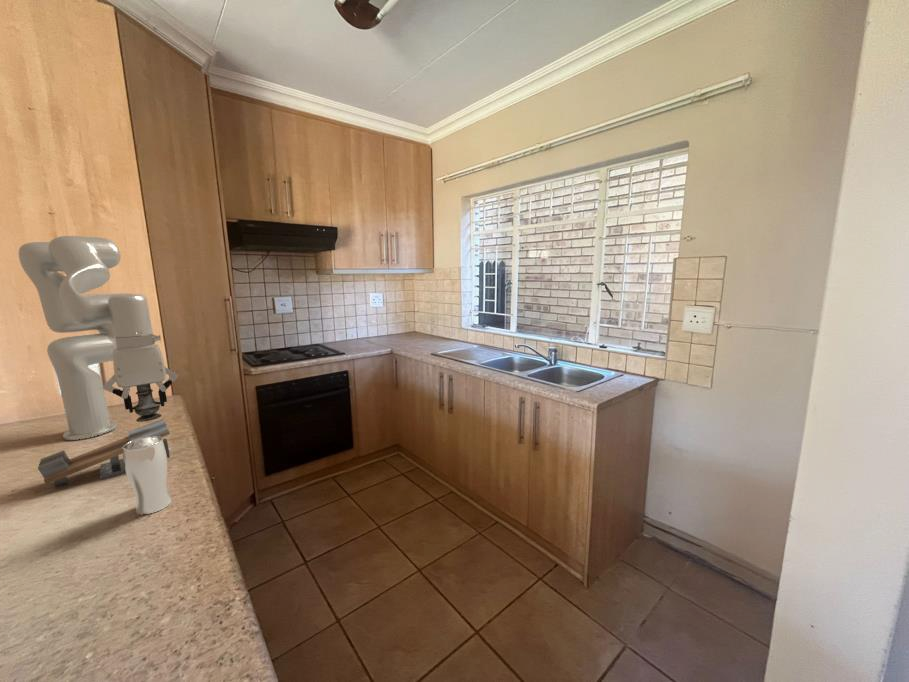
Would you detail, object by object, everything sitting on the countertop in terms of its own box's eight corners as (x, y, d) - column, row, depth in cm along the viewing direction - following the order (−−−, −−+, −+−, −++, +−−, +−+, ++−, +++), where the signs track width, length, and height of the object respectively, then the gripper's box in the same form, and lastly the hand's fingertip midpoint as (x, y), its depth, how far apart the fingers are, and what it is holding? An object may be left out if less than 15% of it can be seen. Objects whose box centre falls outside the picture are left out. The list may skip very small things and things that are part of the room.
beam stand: (57, 479, 91) (53, 462, 91) (167, 450, 106) (165, 435, 105) (53, 493, 86) (49, 474, 85) (170, 460, 100) (168, 444, 99)
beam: (51, 469, 91) (42, 455, 90) (166, 424, 106) (160, 411, 105) (45, 486, 84) (36, 471, 83) (170, 435, 99) (164, 421, 97)
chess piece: (146, 422, 95) (138, 378, 93) (128, 421, 97) (120, 377, 94) (168, 414, 101) (161, 372, 99) (151, 413, 102) (143, 371, 100)
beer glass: (128, 520, 76) (115, 453, 73) (138, 502, 82) (126, 439, 79) (170, 510, 79) (159, 445, 76) (176, 493, 85) (166, 432, 82)
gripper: (174, 336, 104) (184, 397, 107) (90, 345, 92) (103, 413, 95) (178, 339, 98) (188, 403, 101) (88, 349, 87) (103, 420, 90)
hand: (147, 407), depth 98 cm, fingers closed on chess piece, 5 cm apart
